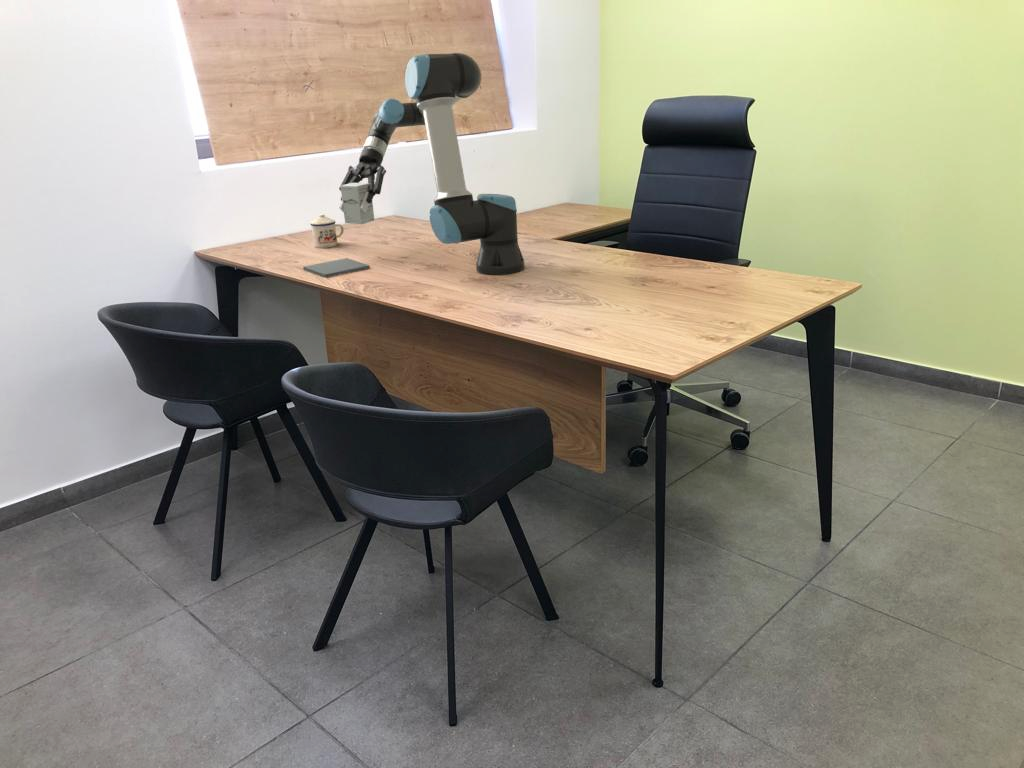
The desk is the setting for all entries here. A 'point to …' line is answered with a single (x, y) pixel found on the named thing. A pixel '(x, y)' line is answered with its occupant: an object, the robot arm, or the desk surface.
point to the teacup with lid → (325, 232)
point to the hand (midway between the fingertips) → (352, 210)
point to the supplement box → (356, 203)
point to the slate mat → (336, 267)
